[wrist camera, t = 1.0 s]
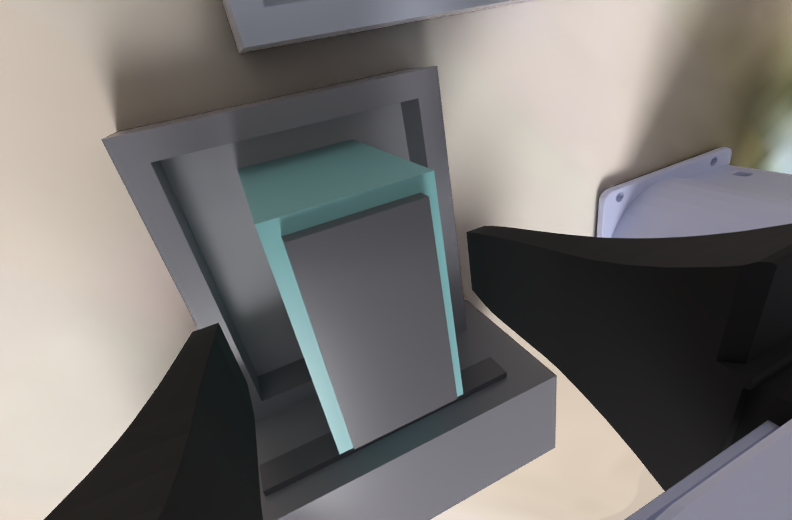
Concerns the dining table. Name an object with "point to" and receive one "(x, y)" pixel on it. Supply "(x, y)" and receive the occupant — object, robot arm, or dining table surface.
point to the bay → (271, 327)
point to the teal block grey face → (361, 282)
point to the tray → (331, 17)
